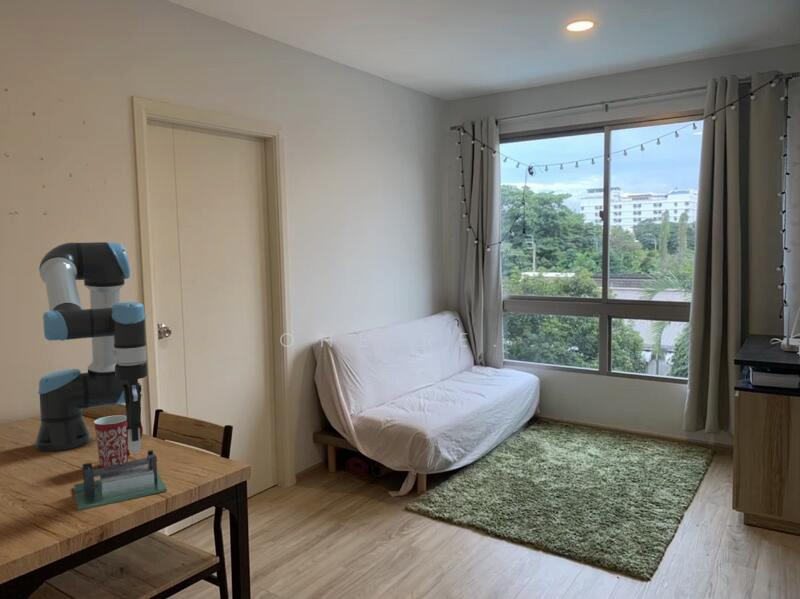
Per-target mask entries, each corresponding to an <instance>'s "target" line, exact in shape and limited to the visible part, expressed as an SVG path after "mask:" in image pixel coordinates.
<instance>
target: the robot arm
mask: <svg viewBox="0 0 800 599" xmlns="http://www.w3.org/2000/svg"><path fill="white" fill-rule="evenodd" d="M127 254H128V253H127V251H126V248H125V246H123V244H122V243H119V242H108V241H106V242H104V241H101V242H100V241H99V242H98V241H95V242H92V241H91V242H66V243H62V244H60V245H57V246H56V247H54V248H52V249H50V250H49V251H48V252H47V253H45V255H44V256H43V258H42V259H41V261H40V263H39V266H38V268H39V269H38V270H39V276H40V278H41V280H42V282H44V284H45V289H46V294H47V301H48V307H49V311H46V312H45V311H44V312H43V315H42V321H43V322H42V326H43V335H44V338H45V340H47V341H62V342H63V341H66V340H67V341H69V340H77V339H78V340H79V339H90V338H91V348H92V349H91V352H92V353H91V354H92V362H91V363H90V364H89V365H87V372H81V370H80V369H78V368H70V369H63V370H59V371H54V372H51V373H48V374H46V375H44V376H42V377H41V378H40V379H39V381H38V395H39V412H40V413H39V414H40V425H39V429H38V432H37V435H36V438H35V448H36V450H37V451H42V452H59V451H60V452H61V451H66V450H70V449H75V448H78V447H81V446H84V445H86V444H89V442H90V440H91V437H90V436H91V435H90V430H89V429H88V426H87V424H86V422H85V420H84V417H83V410H87V409H92V408H93V409H94V408H101V407H108V406H109V407H110V406H116V405H121V404H125V416H126V418H127V419H126V421H127V423H128V424H127V426H128V427H126V430H128V450H129V453H130V455H131V454H135V453H141V452H142V443H141V439H140V427H141V425H142V420H141V419H142V418H141V417H142V416H141V415H142V414H141V413H142V412H141V410H142V409H141V408H142V407H141V405H142V404H141V402H142V401H141V399H142V393H141V392H142V385H141V383H140V382H139V379H144V378H146V377H147V376H148V364H147V363H148V362H146V361H147V353H148V352H147V344H146V343H147V342H146V321H145V320H146V313H145V307H144V306H145V305H144V304H143V303H141V302H137V301H125V302H124V301H123V302H121V299H120V298H121V294H120V293H121V292H120V290H121V289H122V288H123V287H124V286H125V284H126V283H125V280H127V279H129V278H130V277H131V275H130V274H131V269H130V264H129V258H128V255H127ZM77 281H83V283H84V287H86V288H87V289H88V290H89V296H90V297H89V299H90V308H87V309H83V307H82V303H81V298H80V293H79V290H78V287H77Z"/></svg>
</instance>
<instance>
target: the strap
mask: <svg viewBox="0 0 800 599" xmlns="http://www.w3.org/2000/svg"><path fill="white" fill-rule="evenodd" d="M155 455H156V454H155V453H153V454H150V455H148V454H146V457H144V458H140V459H135V460H131V461H128V462H126V463H122V464H117V465H113V466H109V467H105V468H96V469H93V471H94V478H95V477H98V476H100V475H104V474H108V473H112V472H116V471H120V470H124V469H129V468H133V467H137V466H141V465H145V464H149V463H151V456H155ZM156 461H157V462H158V459H157V456H156Z"/></svg>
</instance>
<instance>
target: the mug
mask: <svg viewBox="0 0 800 599" xmlns="http://www.w3.org/2000/svg"><path fill="white" fill-rule="evenodd" d="M126 419H127V418H126V415H121V414H118V415H117V414H116V415H109V416H103V417H99V418H97V419H95V420H93V425H94V429H95V438H96V445H97V453H98V462H99V467H100V468H105V467H109V466H113V465H117V464H122V463H126V462H129V456H131V454H130V453H129V442H128V430H126V427H128V426H127V424H128V423H127V421H126ZM143 431H144V428H143V425H142V424H141V427H140V440H141V439H142V437H143V433H144V432H143ZM100 468H99V469H100Z"/></svg>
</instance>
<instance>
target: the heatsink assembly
mask: <svg viewBox="0 0 800 599" xmlns="http://www.w3.org/2000/svg"><path fill="white" fill-rule="evenodd" d="M150 454H154V450H153V449H150V450H147V455H150ZM156 457H157V455H156V454H155V456H151V463H149V464H145V465H141V466H137V467H133V468H129V469H124V470H120V471H116V472H112V473H108V474H104V475H100V476H97V477H98V479H97V480H95V477H94V471H93V470H94V468H93V463H92V462H87V463H83V464H82V475H83V482H81V483H76V484H73V486H74V487H73V488H74V493H75V499H76V501H75V502H76V506H77V510H78V511H80V510H84V509H88V508H94V507H98V506H99V507H100V506H103V505H109V504H113V503H114V504H115V503H118V502H123V501H127V500H132V499H137V498H141V497H146V496H151V495H155V494H161V493H166V492H167V493H168V489H167V486H166V485H165V482H164V481H163V479H162V477H161V476H160V474H159V472H158V467H157V466H158V465H157V464H158V460H157V461H156Z"/></svg>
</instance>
